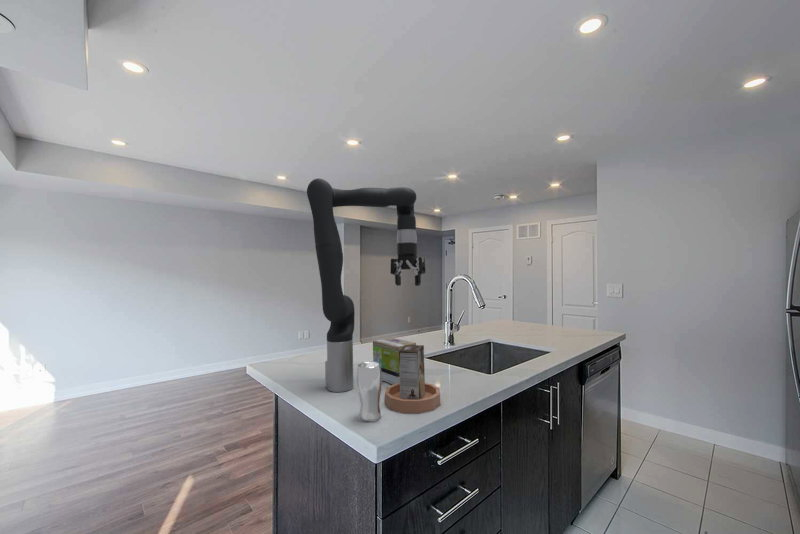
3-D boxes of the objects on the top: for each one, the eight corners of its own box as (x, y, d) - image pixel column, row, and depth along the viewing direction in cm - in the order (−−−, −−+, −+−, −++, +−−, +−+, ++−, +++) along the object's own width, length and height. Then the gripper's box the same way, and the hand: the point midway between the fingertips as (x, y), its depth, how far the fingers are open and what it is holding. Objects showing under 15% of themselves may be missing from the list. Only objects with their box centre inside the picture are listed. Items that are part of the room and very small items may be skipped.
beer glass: (358, 413, 98) (357, 361, 98) (382, 411, 98) (381, 360, 99) (357, 423, 91) (356, 368, 91) (383, 422, 91) (381, 367, 92)
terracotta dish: (374, 405, 103) (374, 393, 103) (405, 388, 117) (405, 378, 117) (421, 418, 93) (421, 405, 93) (449, 398, 107) (449, 387, 107)
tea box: (372, 378, 130) (371, 340, 130) (391, 372, 137) (391, 336, 137) (398, 387, 119) (397, 346, 119) (417, 380, 126) (417, 341, 126)
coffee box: (406, 392, 111) (405, 344, 111) (425, 394, 109) (424, 345, 109) (399, 403, 102) (398, 350, 102) (420, 405, 100) (418, 351, 100)
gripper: (385, 243, 126) (386, 286, 126) (417, 240, 118) (418, 286, 117) (397, 244, 132) (398, 285, 132) (428, 241, 124) (429, 285, 124)
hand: (407, 285), depth 125 cm, fingers open, 8 cm apart
